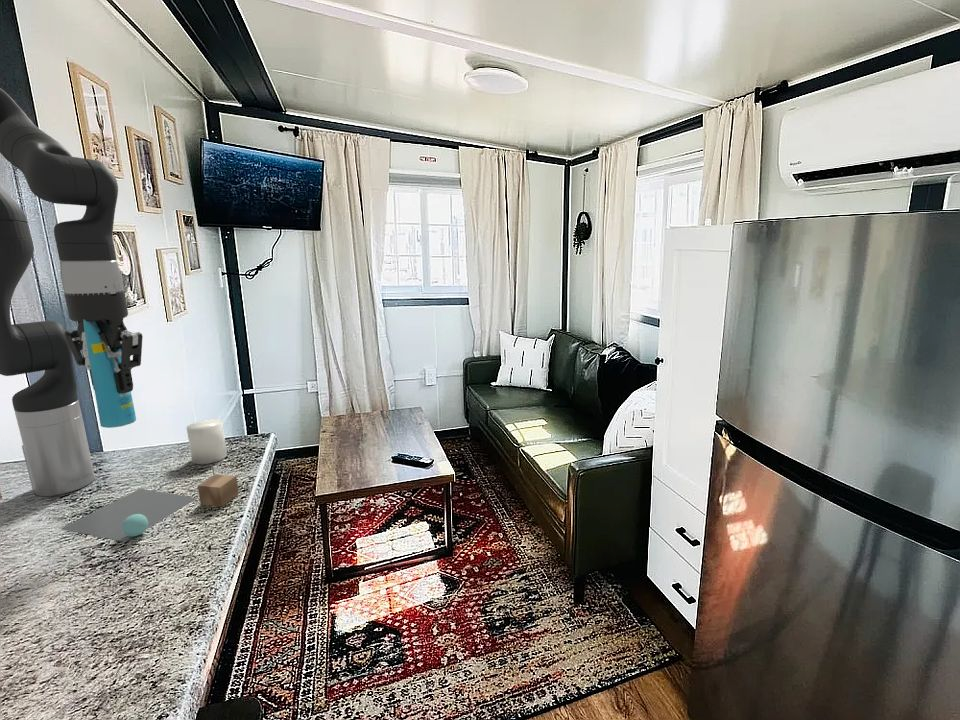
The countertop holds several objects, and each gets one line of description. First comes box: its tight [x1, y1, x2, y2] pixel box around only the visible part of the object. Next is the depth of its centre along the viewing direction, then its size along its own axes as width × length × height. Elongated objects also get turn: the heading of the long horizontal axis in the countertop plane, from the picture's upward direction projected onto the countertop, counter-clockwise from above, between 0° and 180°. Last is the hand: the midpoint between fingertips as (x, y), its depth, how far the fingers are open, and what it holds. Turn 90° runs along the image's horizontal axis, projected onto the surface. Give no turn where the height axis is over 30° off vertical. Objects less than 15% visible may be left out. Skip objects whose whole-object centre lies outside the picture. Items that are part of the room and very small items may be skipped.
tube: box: [83, 319, 137, 429], centre depth 77 cm, size 7×5×19 cm, turn 13°
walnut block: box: [197, 474, 240, 507], centre depth 87 cm, size 4×4×4 cm
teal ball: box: [122, 514, 148, 538], centre depth 76 cm, size 4×4×4 cm
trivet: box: [61, 488, 198, 543], centre depth 83 cm, size 14×14×1 cm
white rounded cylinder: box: [186, 419, 228, 465], centre depth 105 cm, size 7×7×8 cm
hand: (113, 390), depth 78 cm, fingers closed on tube, 4 cm apart
